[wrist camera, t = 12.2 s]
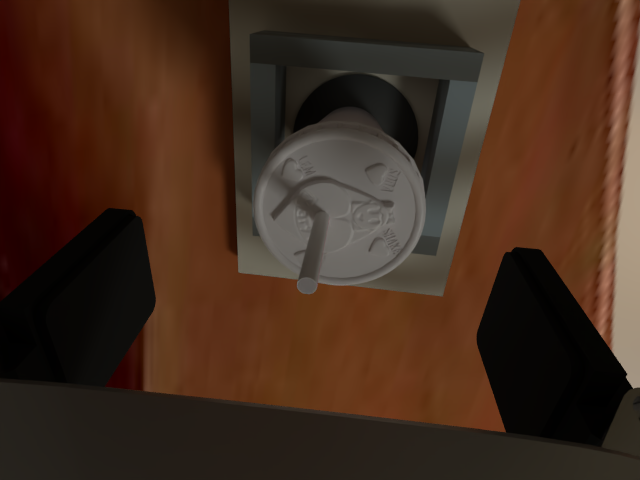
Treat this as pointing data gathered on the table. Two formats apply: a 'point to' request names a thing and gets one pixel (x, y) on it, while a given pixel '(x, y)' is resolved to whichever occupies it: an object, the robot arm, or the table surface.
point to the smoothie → (340, 201)
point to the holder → (370, 101)
